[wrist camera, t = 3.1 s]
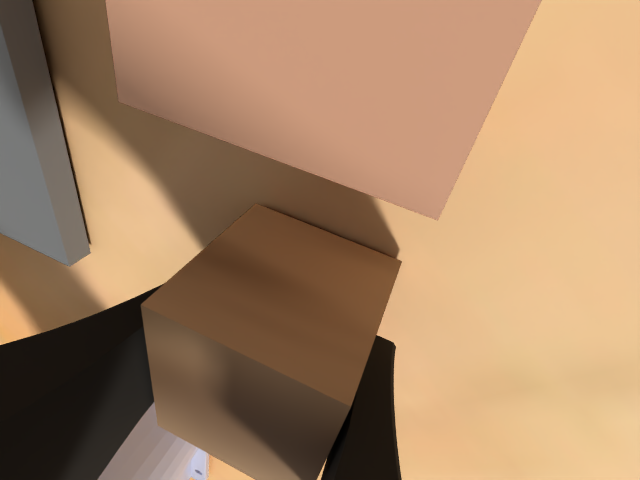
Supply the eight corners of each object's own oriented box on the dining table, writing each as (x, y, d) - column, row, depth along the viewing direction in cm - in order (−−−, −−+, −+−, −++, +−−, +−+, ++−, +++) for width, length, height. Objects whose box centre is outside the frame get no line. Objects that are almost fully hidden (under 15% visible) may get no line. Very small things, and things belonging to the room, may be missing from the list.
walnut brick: (356, 367, 13) (303, 506, 10) (243, 315, 14) (157, 425, 10) (402, 261, 10) (351, 407, 7) (255, 203, 11) (140, 305, 7)
